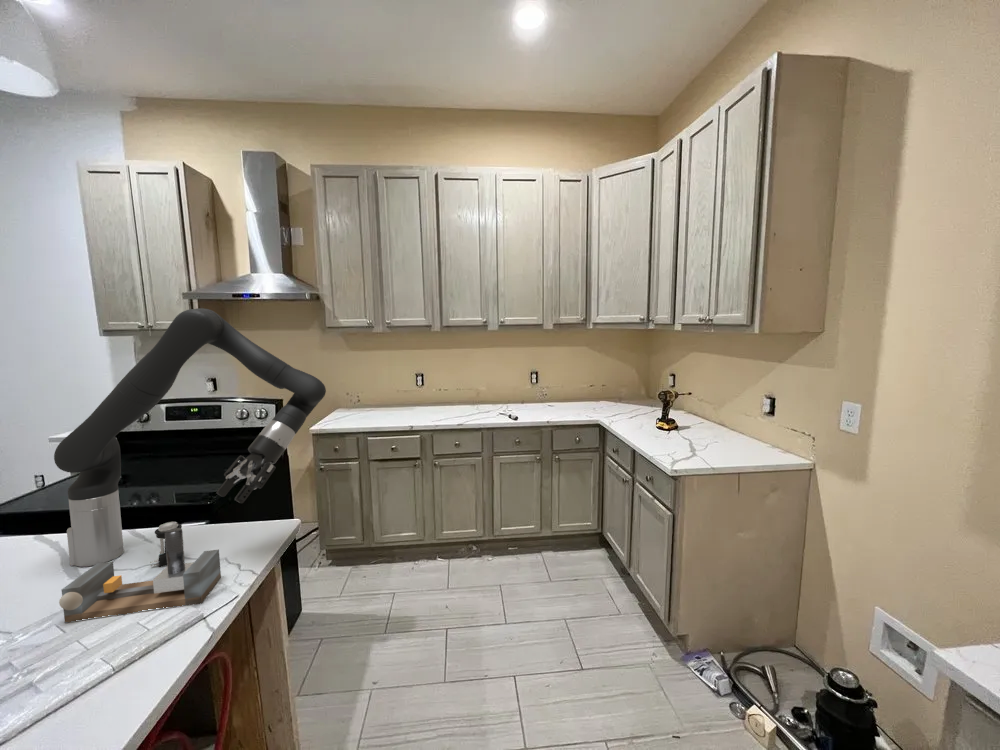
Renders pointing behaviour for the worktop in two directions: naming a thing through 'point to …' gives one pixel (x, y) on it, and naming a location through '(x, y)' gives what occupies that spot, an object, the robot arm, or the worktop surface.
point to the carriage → (172, 564)
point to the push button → (161, 534)
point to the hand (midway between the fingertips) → (228, 498)
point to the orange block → (112, 584)
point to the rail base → (136, 591)
